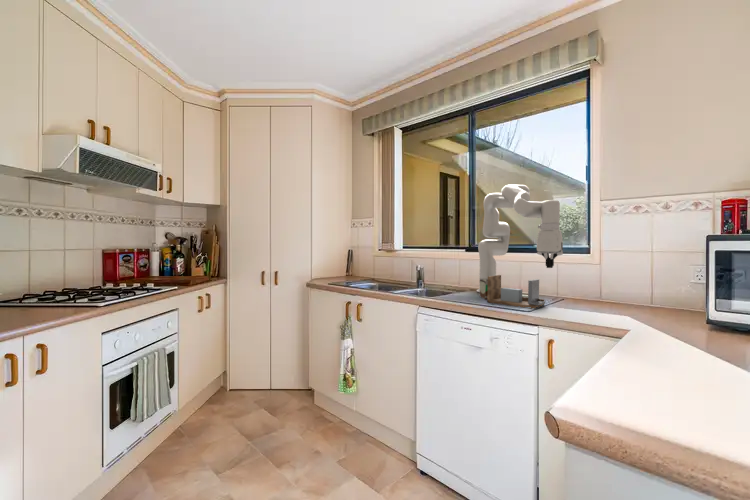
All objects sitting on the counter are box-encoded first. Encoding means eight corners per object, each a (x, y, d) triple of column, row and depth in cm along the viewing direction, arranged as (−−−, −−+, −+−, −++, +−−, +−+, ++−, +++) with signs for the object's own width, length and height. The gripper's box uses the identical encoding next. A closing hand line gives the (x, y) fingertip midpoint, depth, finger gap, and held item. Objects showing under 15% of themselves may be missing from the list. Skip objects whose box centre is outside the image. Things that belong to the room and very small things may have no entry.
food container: (497, 299, 183) (497, 280, 183) (485, 299, 183) (486, 280, 183) (490, 296, 195) (490, 278, 195) (479, 296, 195) (479, 278, 195)
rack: (498, 299, 184) (499, 274, 183) (544, 305, 167) (544, 278, 167) (487, 302, 175) (487, 276, 175) (534, 308, 159) (534, 280, 159)
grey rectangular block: (504, 299, 177) (504, 287, 177) (522, 301, 171) (522, 289, 171) (500, 300, 175) (500, 288, 174) (518, 302, 168) (518, 290, 168)
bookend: (535, 301, 169) (535, 279, 168) (545, 303, 165) (545, 280, 165) (528, 304, 163) (528, 280, 162) (538, 305, 159) (538, 281, 159)
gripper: (530, 227, 162) (529, 267, 162) (565, 226, 151) (564, 269, 152) (536, 228, 167) (536, 266, 168) (570, 227, 157) (570, 268, 157)
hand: (549, 267), depth 160 cm, fingers closed
